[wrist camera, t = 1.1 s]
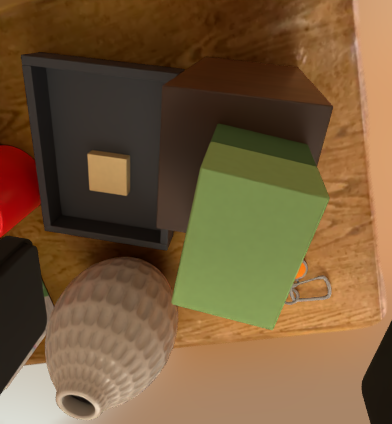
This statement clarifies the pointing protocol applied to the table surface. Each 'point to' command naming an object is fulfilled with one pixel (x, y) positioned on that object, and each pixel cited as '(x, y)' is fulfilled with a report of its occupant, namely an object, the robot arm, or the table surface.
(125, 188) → the tan square tile
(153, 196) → the pan
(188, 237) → the sponge
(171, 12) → the table surface
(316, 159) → the stand
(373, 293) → the table surface
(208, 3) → the table surface
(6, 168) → the mug
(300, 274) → the key chain
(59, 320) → the vase
